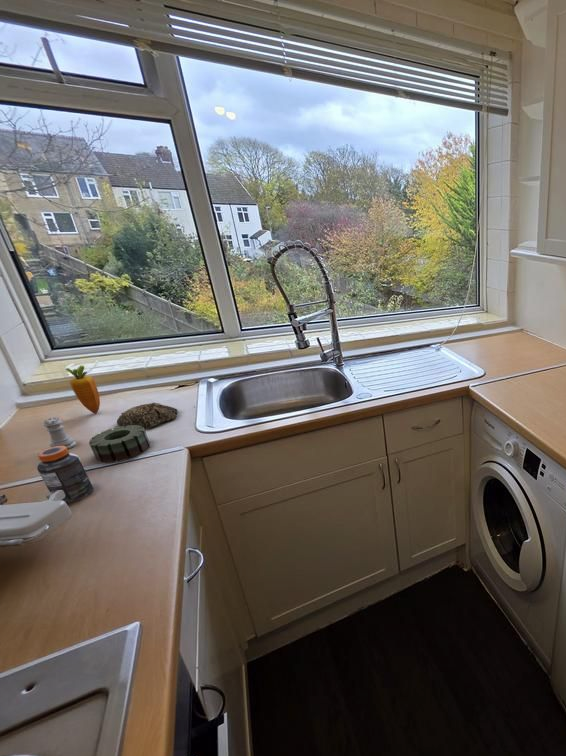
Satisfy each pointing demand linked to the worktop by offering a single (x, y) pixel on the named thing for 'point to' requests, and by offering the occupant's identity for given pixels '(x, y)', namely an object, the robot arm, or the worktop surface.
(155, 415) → the bread roll
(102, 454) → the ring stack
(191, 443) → the worktop surface
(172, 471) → the worktop surface
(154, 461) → the worktop surface
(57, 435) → the rook chess piece
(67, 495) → the pill bottle
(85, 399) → the carrot
